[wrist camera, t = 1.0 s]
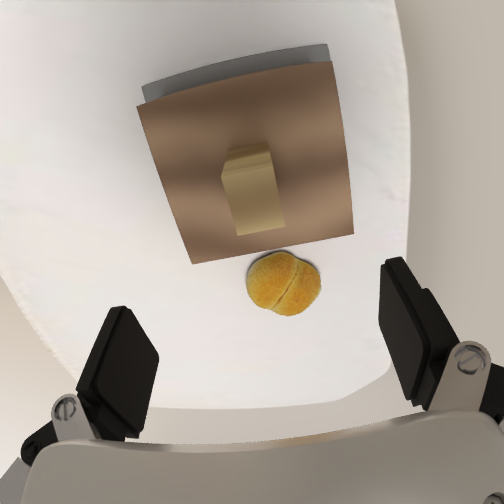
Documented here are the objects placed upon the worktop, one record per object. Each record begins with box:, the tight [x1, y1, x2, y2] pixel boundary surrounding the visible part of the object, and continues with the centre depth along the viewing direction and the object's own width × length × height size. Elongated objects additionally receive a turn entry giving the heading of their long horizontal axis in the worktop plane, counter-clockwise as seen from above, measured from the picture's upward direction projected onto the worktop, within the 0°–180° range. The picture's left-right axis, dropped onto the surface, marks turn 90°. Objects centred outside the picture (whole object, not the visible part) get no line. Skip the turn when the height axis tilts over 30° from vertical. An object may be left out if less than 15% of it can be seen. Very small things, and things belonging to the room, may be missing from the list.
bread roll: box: [246, 252, 321, 316], centre depth 38 cm, size 8×9×4 cm
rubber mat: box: [142, 44, 331, 103], centre depth 30 cm, size 18×18×1 cm
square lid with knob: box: [137, 61, 354, 264], centre depth 24 cm, size 15×15×13 cm
